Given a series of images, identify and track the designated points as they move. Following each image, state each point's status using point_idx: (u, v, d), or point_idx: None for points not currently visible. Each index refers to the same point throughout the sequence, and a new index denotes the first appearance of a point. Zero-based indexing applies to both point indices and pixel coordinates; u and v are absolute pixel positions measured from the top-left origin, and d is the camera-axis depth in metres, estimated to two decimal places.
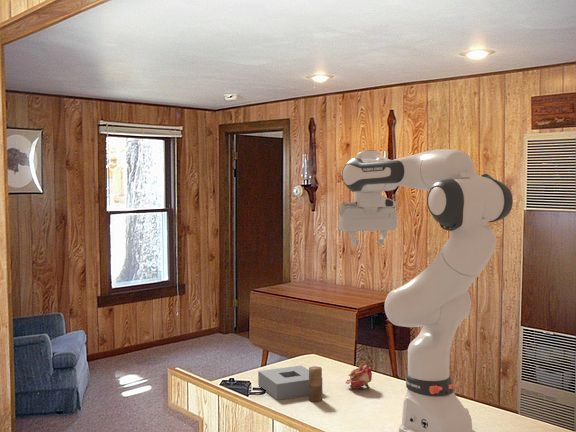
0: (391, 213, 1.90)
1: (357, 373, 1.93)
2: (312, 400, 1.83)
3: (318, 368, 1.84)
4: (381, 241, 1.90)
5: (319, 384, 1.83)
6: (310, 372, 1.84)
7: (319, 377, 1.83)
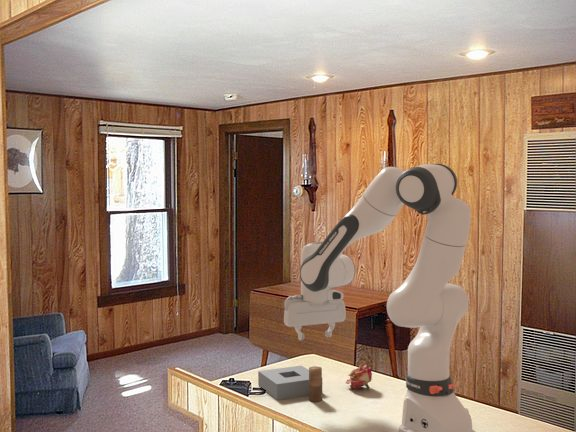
0: (339, 305, 1.86)
1: (357, 373, 1.93)
2: (312, 400, 1.83)
3: (318, 368, 1.84)
4: (329, 334, 1.86)
5: (319, 384, 1.83)
6: (310, 372, 1.84)
7: (319, 377, 1.83)
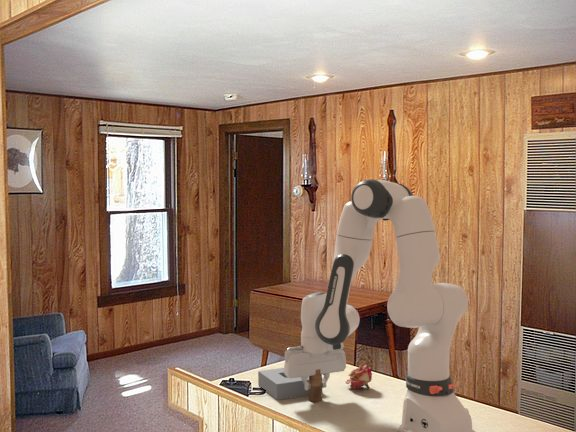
0: (339, 355, 1.86)
1: (357, 373, 1.93)
2: (312, 400, 1.83)
3: None
4: (323, 384, 1.85)
5: (319, 384, 1.83)
6: None
7: (319, 377, 1.83)
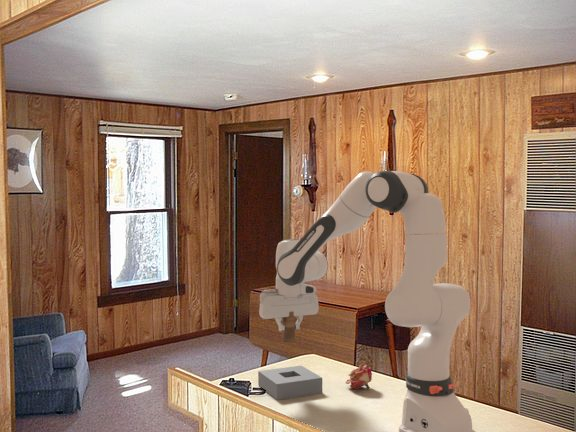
0: (312, 299, 1.96)
1: (357, 373, 1.93)
2: (286, 340, 1.94)
3: None
4: (296, 326, 1.95)
5: (292, 325, 1.94)
6: None
7: (292, 319, 1.94)
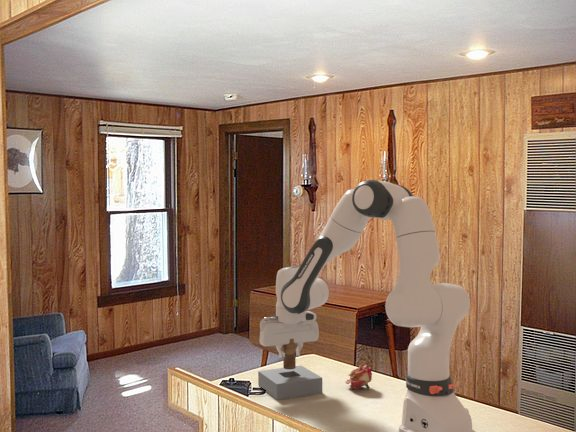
0: (312, 325, 1.97)
1: (357, 373, 1.93)
2: (286, 367, 1.94)
3: None
4: (297, 353, 1.96)
5: (293, 352, 1.94)
6: None
7: (293, 346, 1.94)
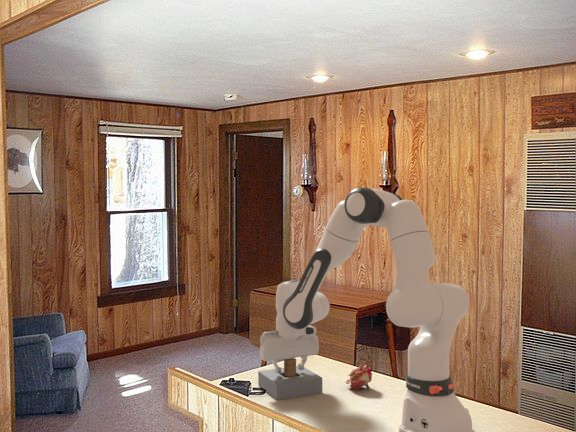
0: (312, 339, 1.97)
1: (357, 373, 1.93)
2: None
3: (293, 359, 1.95)
4: (301, 367, 1.96)
5: (293, 374, 1.94)
6: (285, 363, 1.94)
7: (293, 368, 1.94)
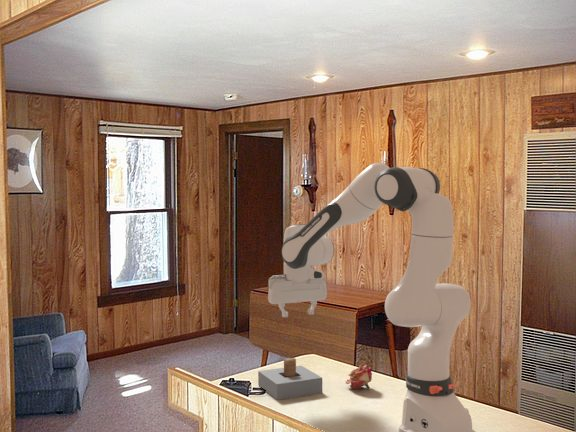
0: (320, 284, 1.96)
1: (357, 373, 1.93)
2: None
3: (292, 359, 1.95)
4: (311, 311, 1.96)
5: (293, 374, 1.94)
6: (285, 363, 1.94)
7: (293, 368, 1.94)
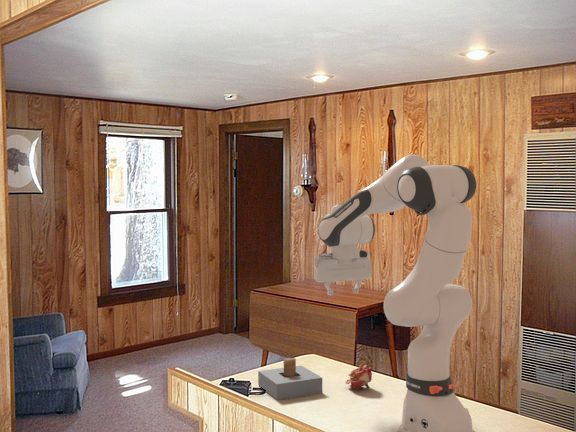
0: (365, 263, 1.97)
1: (357, 373, 1.93)
2: None
3: (292, 359, 1.95)
4: (356, 290, 1.97)
5: (293, 374, 1.94)
6: (284, 363, 1.94)
7: (293, 367, 1.94)
